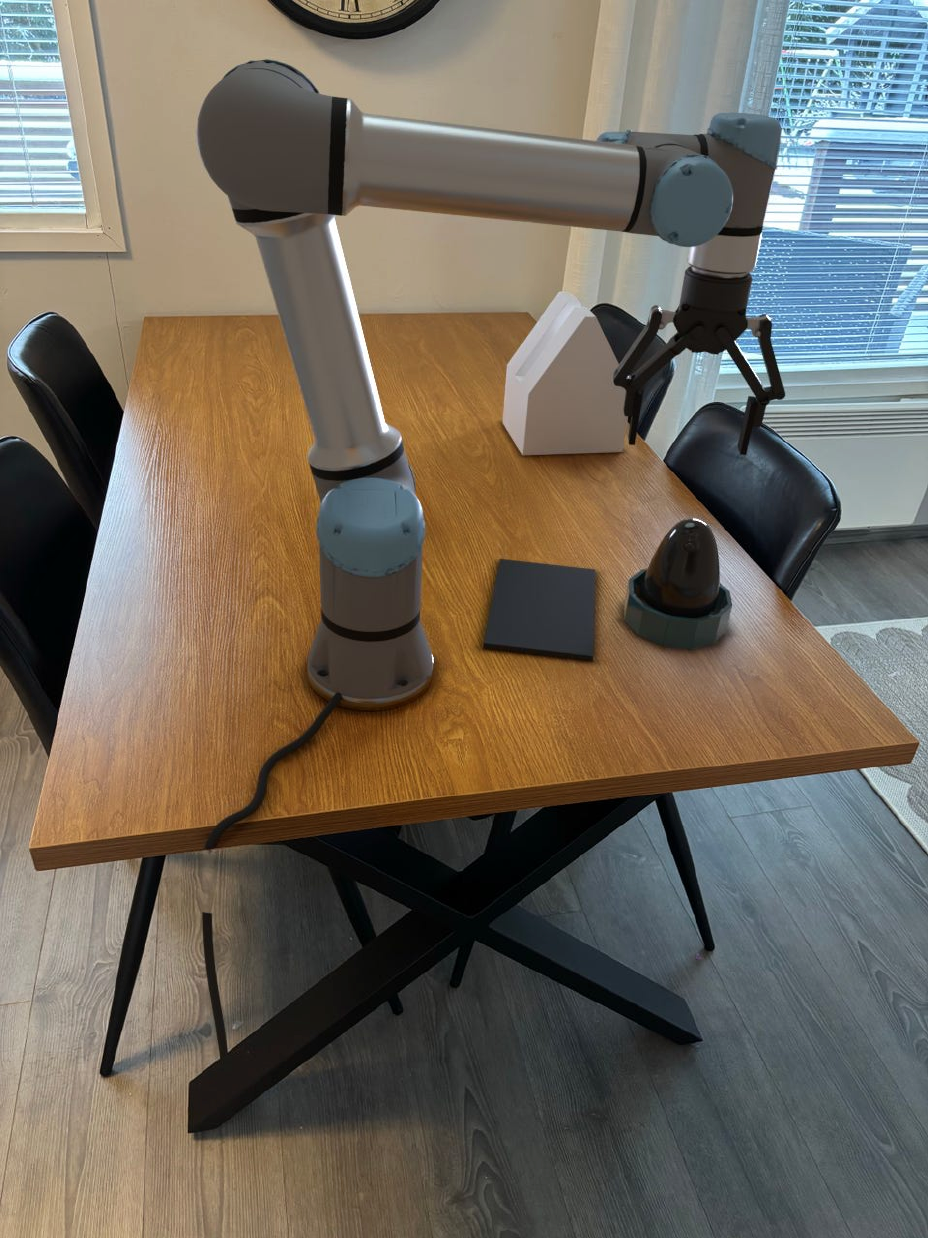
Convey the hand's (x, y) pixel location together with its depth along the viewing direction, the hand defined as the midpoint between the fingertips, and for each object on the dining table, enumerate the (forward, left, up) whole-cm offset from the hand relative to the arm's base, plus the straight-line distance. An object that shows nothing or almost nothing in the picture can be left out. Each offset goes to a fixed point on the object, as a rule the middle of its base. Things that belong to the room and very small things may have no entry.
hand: (686, 445), depth 120 cm
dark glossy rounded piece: (-2, -3, -25) cm, 25 cm away
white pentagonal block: (+58, +15, -25) cm, 65 cm away
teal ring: (-2, -3, -25) cm, 25 cm away
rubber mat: (-3, +15, -25) cm, 29 cm away
